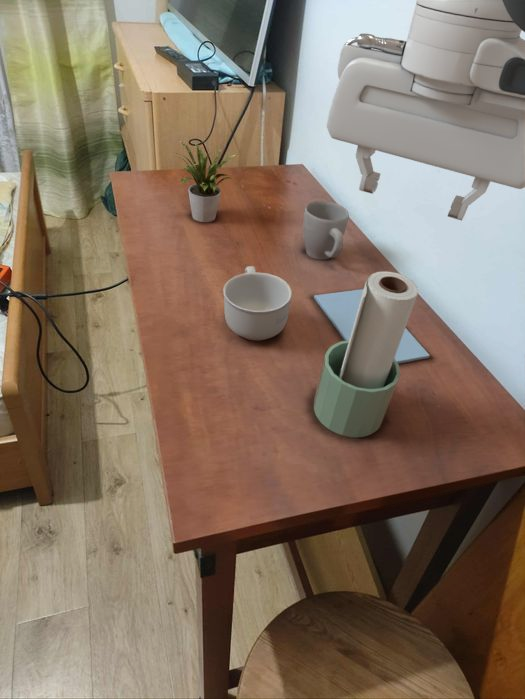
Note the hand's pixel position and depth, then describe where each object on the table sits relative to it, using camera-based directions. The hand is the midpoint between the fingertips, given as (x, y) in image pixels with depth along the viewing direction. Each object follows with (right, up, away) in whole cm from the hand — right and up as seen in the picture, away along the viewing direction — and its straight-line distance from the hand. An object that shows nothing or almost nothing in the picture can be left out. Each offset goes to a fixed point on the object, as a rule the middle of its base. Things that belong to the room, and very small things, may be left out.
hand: (410, 203), depth 53 cm
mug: (-3, +4, +53) cm, 54 cm away
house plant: (-30, +15, +62) cm, 70 cm away
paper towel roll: (-3, -24, +21) cm, 32 cm away
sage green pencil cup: (-3, -24, +21) cm, 32 cm away
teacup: (-17, -11, +34) cm, 39 cm away
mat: (+3, -11, +37) cm, 38 cm away
